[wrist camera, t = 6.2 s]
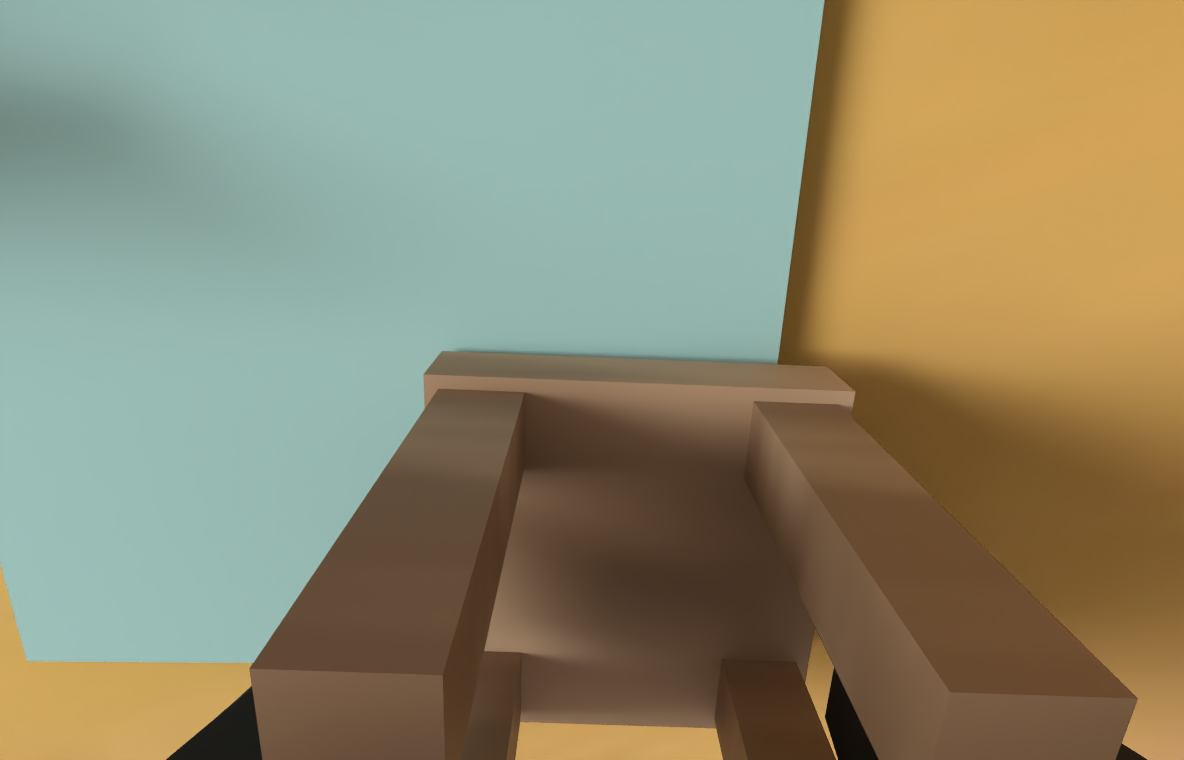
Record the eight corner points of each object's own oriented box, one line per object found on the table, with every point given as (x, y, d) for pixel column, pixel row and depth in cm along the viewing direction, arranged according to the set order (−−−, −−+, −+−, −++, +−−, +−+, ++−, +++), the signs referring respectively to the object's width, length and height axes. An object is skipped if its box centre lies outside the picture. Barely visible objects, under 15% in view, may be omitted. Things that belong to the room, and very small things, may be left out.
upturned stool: (777, 678, 12) (970, 1213, 6) (450, 667, 12) (302, 1199, 6) (826, 365, 10) (1178, 674, 4) (441, 350, 10) (212, 640, 4)
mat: (731, 645, 13) (738, 666, 13) (51, 638, 13) (26, 660, 12) (850, -322, 9) (871, -356, 8) (-213, -400, 8) (-273, -444, 7)
